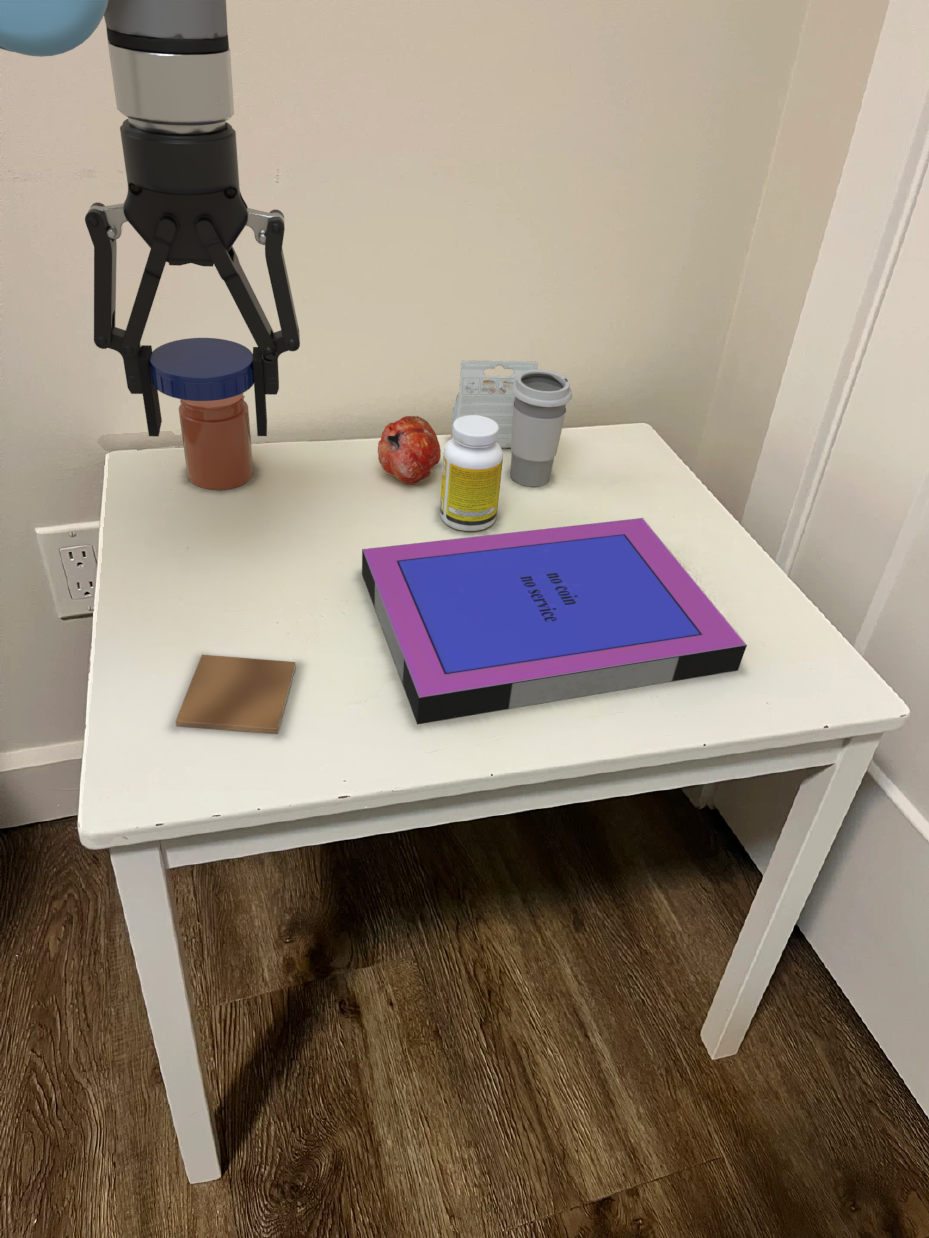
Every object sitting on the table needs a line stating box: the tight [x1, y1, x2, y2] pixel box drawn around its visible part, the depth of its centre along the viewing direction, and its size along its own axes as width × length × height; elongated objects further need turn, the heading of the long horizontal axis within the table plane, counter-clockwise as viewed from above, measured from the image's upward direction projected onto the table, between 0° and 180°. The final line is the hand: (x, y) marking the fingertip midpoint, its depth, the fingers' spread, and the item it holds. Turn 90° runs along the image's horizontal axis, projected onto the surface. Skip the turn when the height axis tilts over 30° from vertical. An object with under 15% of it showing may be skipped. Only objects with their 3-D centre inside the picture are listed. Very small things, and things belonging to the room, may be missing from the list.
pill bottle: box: [439, 415, 504, 532], centre depth 95 cm, size 6×6×11 cm
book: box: [361, 517, 748, 725], centre depth 85 cm, size 21×3×30 cm
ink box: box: [450, 359, 539, 449], centre depth 109 cm, size 3×9×12 cm, turn 98°
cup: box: [509, 368, 573, 488], centre depth 103 cm, size 7×7×12 cm
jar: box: [178, 393, 254, 491], centre depth 99 cm, size 7×7×10 cm
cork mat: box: [175, 654, 297, 735], centre depth 75 cm, size 8×8×1 cm
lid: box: [149, 337, 254, 401], centre depth 72 cm, size 8×8×2 cm
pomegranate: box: [377, 415, 442, 485], centre depth 103 cm, size 7×7×10 cm
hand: (209, 428), depth 75 cm, fingers closed on lid, 8 cm apart
